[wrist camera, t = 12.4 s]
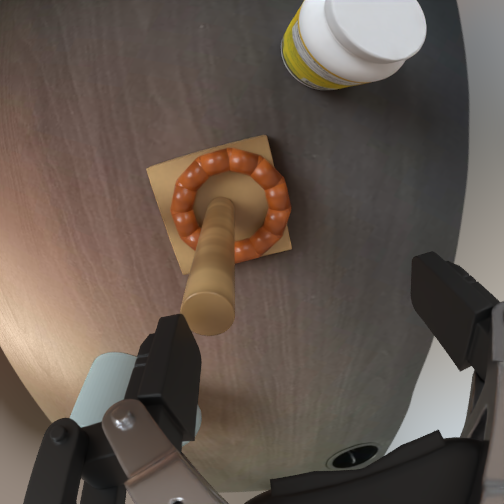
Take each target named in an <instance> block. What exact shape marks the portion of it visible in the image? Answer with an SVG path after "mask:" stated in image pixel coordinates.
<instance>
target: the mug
mask: <svg viewBox="0 0 504 504" xmlns="http://www.w3.org/2000/svg"><path fill="white" fill-rule="evenodd" d="M136 358H138V357H135V356H132V355H129V354H125V353H118V352H111V353H105V354H102V355H100V356H98V357H97V358H96V359H95V360H94V362H93V364H92V366H91V368H90V371H89V373H88V375H87V377H86V380H85V382H84V384H83V387H82V389H81V391H80V394H79V396H78V399H77V401H76V403H75V406H74V408H73V411H72V413H71V416H70V419H73V420H74V421H75V422H76V423H77V424H78V425H79V426H80V427H81V428H82V427H85V426H89V425H92V424H95V423H98V422H102V419H103V416H104V414H105V412H106V411H107V410H108V409H109V408H110V407H111V406H112V405H113V404H115V403H117V402H118V401H121V400H124V396H125V393H126V390H127V386H128V383H129V380H130V377H131V374H132V371H133V368H134V367H135V366H134V364H135V361H136ZM201 421H202V418H201V411H200V408H199V406H198V405H197V416H196V428H195V436H196V434H197V432H198V430H199V429H200V425H201ZM188 442H190V441H185V442H182V446H184V445H185V444H187V443H188Z"/></svg>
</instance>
